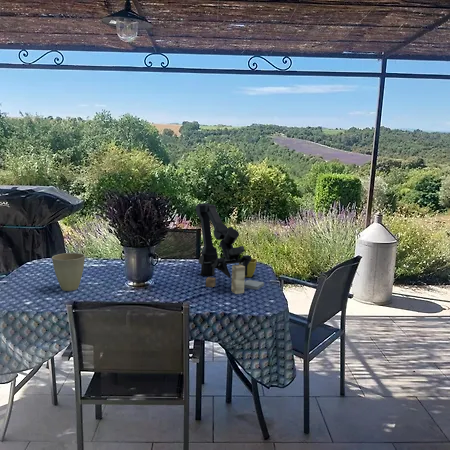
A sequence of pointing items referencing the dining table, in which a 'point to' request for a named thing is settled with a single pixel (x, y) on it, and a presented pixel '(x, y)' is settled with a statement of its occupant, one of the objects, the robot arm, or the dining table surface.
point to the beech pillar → (238, 279)
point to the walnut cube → (210, 282)
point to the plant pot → (69, 269)
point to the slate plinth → (253, 284)
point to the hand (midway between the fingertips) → (238, 276)
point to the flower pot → (251, 268)
